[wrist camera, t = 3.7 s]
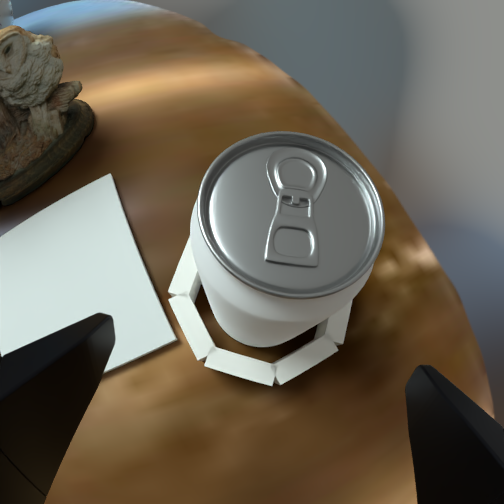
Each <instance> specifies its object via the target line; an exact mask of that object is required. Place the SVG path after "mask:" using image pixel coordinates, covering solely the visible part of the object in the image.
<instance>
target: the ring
mask: <svg viewBox="0 0 504 504" xmlns="http://www.w3.org/2000/svg"><path fill="white" fill-rule="evenodd" d="M201 283H202V282H201V279H200V276H199V273H198V270H197V267H196V264H195V260H194V256H193V252H192V247H191V238H190V237H189V240H188V242H187V244H186V247H185V249H184V252H183V254H182V257H181V259H180V262H179V264H178V267H177V270H176V272H175V275H174V277H173V280H172V283H171V285H170V288H169V290H168V292H169V293H170V295H171V296H172V297H173V298H171V299H169V302H170V305H171V307H172V309H173V311H174V313H175V315H176V317H177V320H178V322H179V324H180V326H181V328H182V330H183V332H184V334H185V336H186V338H187V340H188V342H189V344H190V346H191V348H192V350H193V352H194V354H195V356H196V358H197V360H198V361H204V360H206V362H205V365H204V366H206V367H209V368H212V369H215V370H218V371H221V372H225V373H228V374H231V375H234V376H238V377H241V378H244V379H248V380H251V381H255V382H258V383H262V384H266V385H269V386H272V385H273V381H274V383H276V384H279V385H282V384H283V383H285V382H287V381H289V380H291V379H292V378H294V377H296V376H297V375H299V374H301V373H303V372H304V371H306V370H308V369H309V368H311V367H313V366H314V365H316V364H318V363H319V362H321V361H323V360H324V359H326V358H327V357H329V356H331V355H332V354H334V353H335V352H337V351H338V349H337V347H336V346H337V345H341V344H343V342H344V338H345V333H346V329H347V324H348V320H349V315H350V310H351V305H352V300H353V299H352V300H351V301H350V302H349V303H348V304H347V305H346V306H344V307H343V308H342V309H340V310H339V311H338V312H336V313H335V314H333V315H332V316H330V317H328V318H327V319H325V320H324V321H322V322H320V323H319V324H318V325H317V329H316V333H315V337H314V340H312V341H310V342H309V343H307V344H305V345H303V346H302V347H300V348H298V349H297V350H295V351H293V352H291V353H290V354H288V355H286V356H284V357H282V358H281V359H279V360H277V361H275V362H273V363H272V364H271V363H267V362H264V361H260V360H257V359H253V358H250V357H246V356H243V355H240V354H236V353H233V352H230V351H227V350H223V349H220V348H217V347H216V345H215V343H214V342H213V340H212V338H211V336H210V334H209V332H208V330H207V328H206V326H205V324H204V322H203V320H202V318H201V316H200V314H199V312H198V310H197V308H196V306H195V304H194V303H195V300H196V297H197V295H198V292H199V289H200V286H201Z"/></svg>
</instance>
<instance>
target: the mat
mask: <svg viewBox="0 0 504 504" xmlns="http://www.w3.org/2000/svg"><path fill="white" fill-rule="evenodd" d="M99 312H101V313H105V314H108V315H111V316H112V317H113V321H114V329H115V336H116V341H115V345H114V348H113V350H112V353H111V355H110V358H109V360H108V363H107V365H106V368H105V370H104V373H107V372H109V371H111V370H113V369H116V368H118V367H120V366H122V365H125V364H127V363H129V362H131V361H134V360H136V359H138V358H140V357H142V356H144V355H147V354H149V353H151V352H153V351H155V350H157V349H160V348H162V347H164V346H166V345H168V344H170V343H172V342H174V341H177V337H176V335H175V333H174V331H173V329H172V327H171V325H170V323H169V321H168V318H167V316H166V314H165V312H164V310H163V307H162V305H161V303H160V301H159V298H158V296H157V294H156V291H155V289H154V287H153V284H152V282H151V280H150V277H149V275H148V273H147V270H146V268H145V265H144V263H143V260H142V258H141V255H140V253H139V250H138V248H137V245H136V242H135V240H134V237H133V234H132V232H131V229H130V226H129V224H128V221H127V218H126V215H125V213H124V210H123V207H122V204H121V201H120V198H119V195H118V192H117V189H116V186H115V183H114V180H113V177H112V175H111V173H110V174H108V175H106V176H104V177H102V178H100V179H98V180H96V181H94V182H92V183H90V184H88V185H86V186H84V187H82V188H81V189H79V190H77V191H75V192H73V193H71V194H69V195H68V196H66V197H64V198H62V199H61V200H59V201H57V202H55V203H54V204H52V205H50V206H48V207H47V208H45V209H43V210H42V211H40V212H38V213H37V214H35V215H33V216H32V217H30V218H29V219H27V220H25V221H24V222H22V223H21V224H19V225H18V226H16V227H15V228H13V229H12V230H10V231H9V232H7V233H6V234H4V235H3V236H1V237H0V352H1V356H2V357H3V355H5V354H7V353H9V352H11V351H14V350H16V349H18V348H20V347H22V346H25V345H27V344H29V343H31V342H34V341H36V340H38V339H40V338H42V337H45V336H47V335H49V334H51V333H54V332H56V331H58V330H60V329H62V328H65V327H67V326H69V325H71V324H74V323H76V322H78V321H80V320H82V319H85V318H87V317H89V316H91V315H94V314H96V313H99ZM104 373H103V374H104Z"/></svg>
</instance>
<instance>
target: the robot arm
mask: <svg viewBox="0 0 504 504" xmlns="http://www.w3.org/2000/svg"><path fill="white" fill-rule="evenodd" d="M115 341H116V336H115V329H114V321H113V317H112V316H111V315H108V314H105V313H101V312H99V313H96V314H94V315H91V316H89V317H87V318H85V319H82V320H80V321H78V322H76V323H74V324H71V325H69V326H67V327H65V328H62V329H60V330H58V331H56V332H54V333H51V334H49V335H47V336H45V337H42V338H40V339H38V340H36V341H34V342H31V343H29V344H27V345H25V346H22V347H20V348H18V349H16V350H14V351H11V352H9V353H7V354H5V355H3V357H2V356H0V504H44V502H45V500H46V496H47V494H48V492H49V490H50V487H51V485H52V483H53V480H54V478H55V476H56V473H57V471H58V469H59V466H60V464H61V462H62V460H63V458H64V455H65V453H66V451H67V449H68V447H69V445H70V442H71V440H72V438H73V436H74V434H75V432H76V430H77V428H78V426H79V424H80V422H81V420H82V418H83V416H84V414H85V412H86V410H87V408H88V406H89V404H90V402H91V400H92V398H93V396H94V394H95V392H96V390H97V388H98V386H99V383H100V381H101V378H102V376H103V373H104V370H105V368H106V365H107V363H108V360H109V358H110V355H111V353H112V350H113V348H114V345H115ZM405 393H406V404H407V417H408V430H409V438H410V444H411V451H412V458H413V465H414V473H415V482H416V492H417V503H418V504H504V429H503V427H502V426H501V425H500V424H499V423H497V422H496V421H495V420H494V419H493V418H492V417H491V416H490V415H488V414H487V413H486V412H485V411H484V410H483V409H482V408H480V407H479V406H478V405H477V404H476V403H475V402H473V401H472V400H471V399H470V398H469V397H468V396H466V395H465V394H464V393H463V392H462V391H461V390H459V389H458V388H457V387H456V386H455V385H454V384H452V383H451V382H450V381H449V380H448V379H447V378H445V377H444V376H443V375H442V374H441V373H439V372H438V371H437V370H436V369H435V368H433V367H432V366H431V365H419V366H418V367H417V368H416V369H415V371H414V372H413V374H412V376H411V377H410V379H409V380H408V382H407V384H406V388H405Z"/></svg>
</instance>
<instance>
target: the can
mask: <svg viewBox="0 0 504 504" xmlns="http://www.w3.org/2000/svg"><path fill="white" fill-rule="evenodd" d="M384 231H385V216H384V209H383V205H382V201H381V198H380V195H379V193H378V190H377V188H376V186H375V185H374V183H373V181H372V179H371V178H370V176H369V175H368V174H367V172H366V171H365V170H364V169H363V167H362V166H361V165H360V164H359V163H358V162H357V161H356V160H355V159H354V158H352V157H351V156H350V155H349V154H347V153H346V152H345V151H343V150H342V149H340V148H339V147H337V146H335V145H333V144H332V143H330V142H327V141H325V140H323V139H320V138H318V137H315V136H311V135H307V134H303V133H297V132H285V131H279V132H267V133H262V134H257V135H254V136H251V137H248V138H245V139H243V140H241V141H239V142H237V143H235V144H233V145H232V146H230V147H229V148H227V149H226V150H225V151H223V152H222V153H221V154H220V155H219V156H218V157H217V158H216V159H215V160H214V161H213V163H212V164H211V165H210V167H209V168H208V170H207V171H206V173H205V175H204V177H203V179H202V182H201V185H200V188H199V192H198V198H197V200H196V203H195V205H194V209H193V212H192V217H191V225H190V238H191V247H192V252H193V256H194V260H195V264H196V267H197V270H198V273H199V276H200V279H201V282H202V285H203V287H204V290H205V293H206V296H207V298H208V301H209V304H210V306H211V309H212V311H213V314H214V316H215V318H216V320H217V322H218V323H219V325H220V326H221V327H222V329H223V330H224V331H225V332H226V333H227V334H228V335H229V336H231V337H232V338H234V339H235V340H237V341H239V342H241V343H243V344H246V345H249V346H254V347H271V346H275V345H279V344H281V343H284V342H286V341H288V340H290V339H292V338H294V337H296V336H298V335H299V334H301V333H303V332H305V331H307V330H308V329H310V328H312V327H314V326H315V325H317V324H319V323H320V322H322V321H324V320H325V319H327V318H328V317H330V316H332V315H333V314H335V313H336V312H338V311H339V310H340V309H342V308H343V307H344V306H346V305H347V304H348V303H349V302H350V301H351V300H352V299H353V298H354V297H355V296H356V295H357V294H358V293H359V291H360V290H361V289H362V287H363V286H364V284H365V283H366V281H367V279H368V277H369V275H370V273H371V270H372V268H373V264H374V261H375V259H376V258H377V256H378V254H379V251H380V249H381V246H382V242H383V238H384Z"/></svg>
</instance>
